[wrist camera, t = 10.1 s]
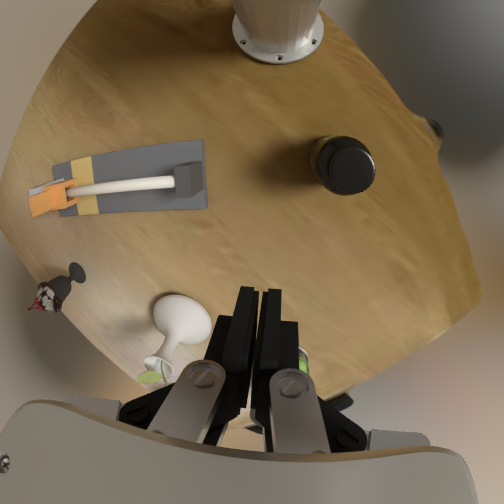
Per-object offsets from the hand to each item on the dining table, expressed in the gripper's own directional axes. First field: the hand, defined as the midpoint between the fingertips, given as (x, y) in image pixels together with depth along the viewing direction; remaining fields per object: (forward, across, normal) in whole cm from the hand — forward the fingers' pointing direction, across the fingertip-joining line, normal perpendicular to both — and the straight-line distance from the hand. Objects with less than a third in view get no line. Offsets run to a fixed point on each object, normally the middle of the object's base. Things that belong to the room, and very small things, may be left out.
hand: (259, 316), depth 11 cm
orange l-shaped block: (+25, +34, 0) cm, 42 cm away
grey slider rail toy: (+29, +25, 0) cm, 39 cm away
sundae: (+29, +40, +19) cm, 53 cm away
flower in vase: (+29, +15, +25) cm, 41 cm away
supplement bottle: (+30, -8, -4) cm, 31 cm away
